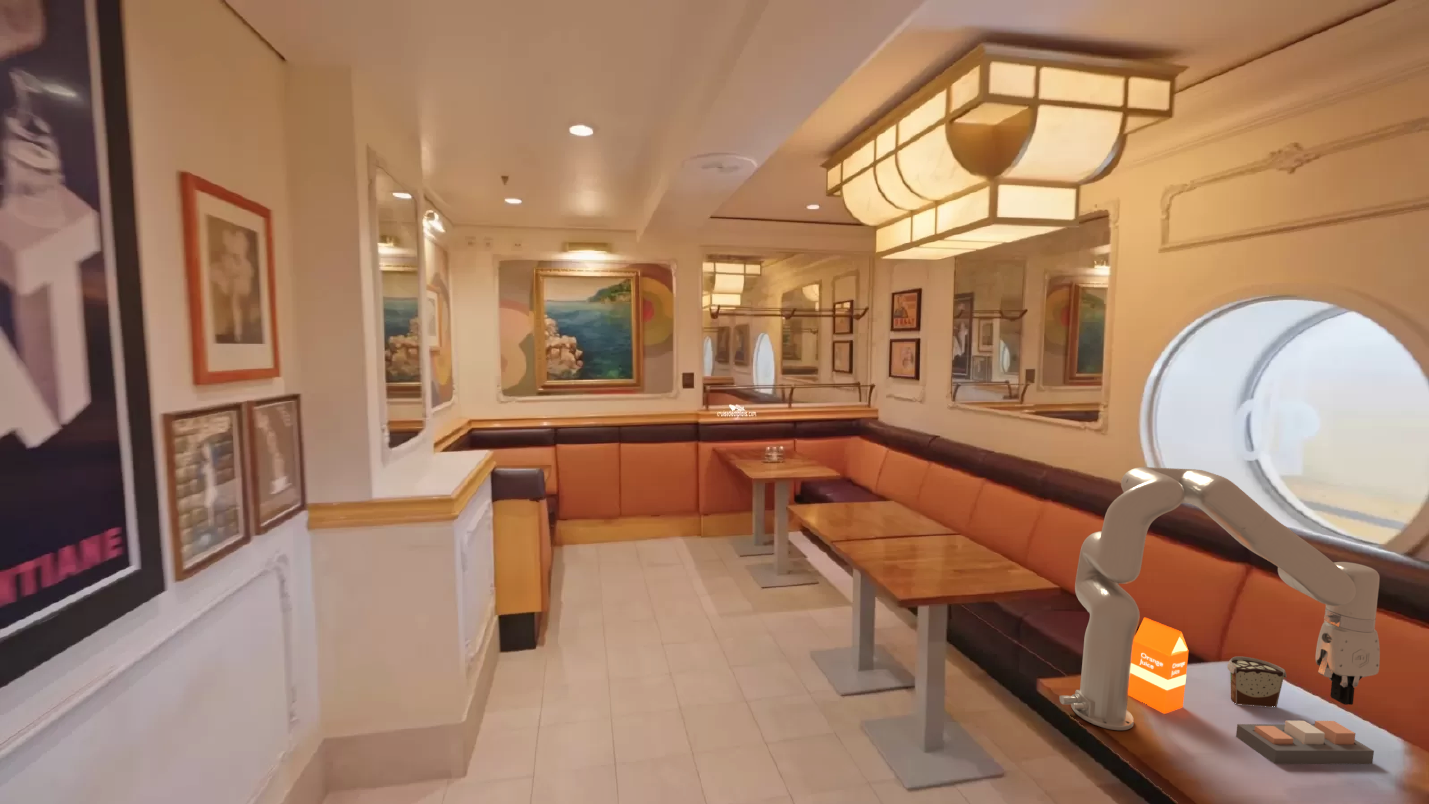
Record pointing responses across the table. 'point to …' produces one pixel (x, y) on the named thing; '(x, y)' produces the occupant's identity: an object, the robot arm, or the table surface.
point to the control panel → (1303, 749)
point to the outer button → (1336, 732)
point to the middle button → (1304, 732)
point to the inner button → (1273, 735)
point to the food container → (1255, 681)
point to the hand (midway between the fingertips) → (1341, 701)
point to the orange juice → (1158, 666)
